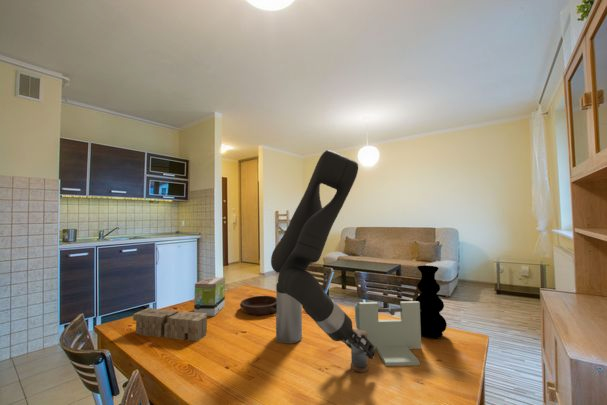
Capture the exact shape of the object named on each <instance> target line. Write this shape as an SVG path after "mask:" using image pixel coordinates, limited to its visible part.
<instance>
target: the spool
mask: <svg viewBox="0 0 607 405" xmlns="http://www.w3.org/2000/svg"><path fill="white" fill-rule="evenodd" d="M354 330H355V331H356V332H357V333H358V334H359V335H361V336H362V335H364V336H365V337H366V338H367V332H366V331H363V330H358V329H354ZM357 344H358V341H356V343H355V345H357ZM350 354H351V356H350V357H351V358H350V359H351V362H350V370H351V371H353V372H354V373H357V374H364V373H367V372H368V371H369V364H368V356H367V355H366V354H365V353H363V352H362V351H361V350H360V349H355V348H354V347H353V346H352V345H351V349H350Z"/></svg>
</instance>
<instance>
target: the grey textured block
mask: <svg viewBox="0 0 607 405" xmlns="http://www.w3.org/2000/svg"><path fill="white" fill-rule="evenodd" d="M132 318H133V319H132V320H133V321H135V334H136V335H140V336H148V337H150V336H151V337H158V338H162V337H164V338H167V339H175V340H176V339H177V340H183V341H184V340H186V339H187V341H193V342H199V341H201V340H202V339H203V338H205V337H206V336H207V332H208V330H207V328H208V316H207V313H199V312H198V313H197V312H194V311H183V310H182V311H179V310H171V309H159V308H152V307H147V308H145V309H142V310H139V311H137V312H135V313H133V315H132Z"/></svg>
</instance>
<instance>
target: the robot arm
mask: <svg viewBox="0 0 607 405" xmlns="http://www.w3.org/2000/svg"><path fill="white" fill-rule="evenodd" d="M358 172H359V164H358V162H357V161H355V160H353V159H351V158H349V157H347V156H345V155H342V154H341V153H340V154H339V153H337V152H335V151H333V150H329V149H327V150H325V151H324V152H322V154H321V156H320V157H319V159H318V161H317V163H316V165H315V168H314V169H313V172H312V175H311V178H310V180H309V182H308V184H307V188H306V190H305V191H304V194H303V196H302V197H301V199H300V202H299V203H298V205H297V207H296V208H295V211H294V213H293V215H292V216H291V218H290V221H289V224H288V225H287V227H286V230H285V232H284V234H283V235H282V236H281V239H280V240H279V241H278V243H277V244H276V246H275V247H274V249H273V251H272V253H271V258H270V264H271V269H272V270H273V271H275V272H276V273H278V276H277V277H278V278H277V282H276V287H275V288H276V289H275V291H276V293H275V294H276V295H275V296H276V297H275V298H276V302H277V313H275V332H276V333H275V341H276V342H278V343H281V344H295V343H298V342H300V341H301V340H302V339H303V317H302V315H303V311H304V312H305V313H306V314H307V315H308V316H309V317H310V318H311V319H312V320H313V321H314V322H315V324H316V325H317V326H318V327H319V328H320V329H321V330H322V331H323V332H324V333H325V334H326V335H327V336H328V337H329V338H330V339H331V340H332V341H334V342H341V343H344V344H345V345H346V346H347V347H348V348H349V349H350V350H351V345H352V346H353V347H354V348H355V349H360V350H361V351H362V352H363V353H365V354H366V355H367V358H369V359H371V360H373V359H374V357H375V355H376V351H375V350H373V348H374V346H373V345H372V344H371V342H370V341H369V340H368V339H367V338H366V337H365V336H364V335H362V336H361V335H359V334H358V333H357V332H356V331H355V330H356V329H354V328H353V322H352V319H351V317H350V316H349V315H348V314H347V313H346V312H345V311H344V310H343V308H341V307H340V305H339V304H337V303H336V302H335V301H334V300H333V299H332V298H331V297H330V296H329V295H328V294H327V293H326V292H325V291H324V289H323V287H322V286H321V284H320V282H319V280H318V279H317V278H316V277H315V276H314V275H313V274H312V273H311V272H308V271H307V269H308V267H309V265H310V264H314V263H317V262H318V261H320V259H321V256H322V253H323V250H324V248H325V245H326V243H327V240H328V238H329V235H330V232H331V230H332V227H334V223H335V221H336V219H337V218H338V216H339V213H340V212H341V209H342V208H343V205H344V204H345V202H346V200H347V197H348V196H349V194H350V192H351V190H352V188H353V186H354V184H355V181H356V179H357V176H358ZM321 185H325V186H327V187H330V188H331V189H333V190H336V192H335V194H334V195H333V197H332V199H331V200H330V201H329V202H327V204H326V205H325V206H323V205H322V201H321V194H320V192H321V190H320V187H321ZM302 309H303V310H302ZM356 341H358V344H357V345H355V343H356Z"/></svg>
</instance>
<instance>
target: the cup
mask: <svg viewBox="0 0 607 405" xmlns="http://www.w3.org/2000/svg"><path fill="white" fill-rule="evenodd" d="M354 319H355V320H354V321H355V326H356V327H355V328H356V330H360V320H359V302H357V303H355V305H354Z"/></svg>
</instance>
